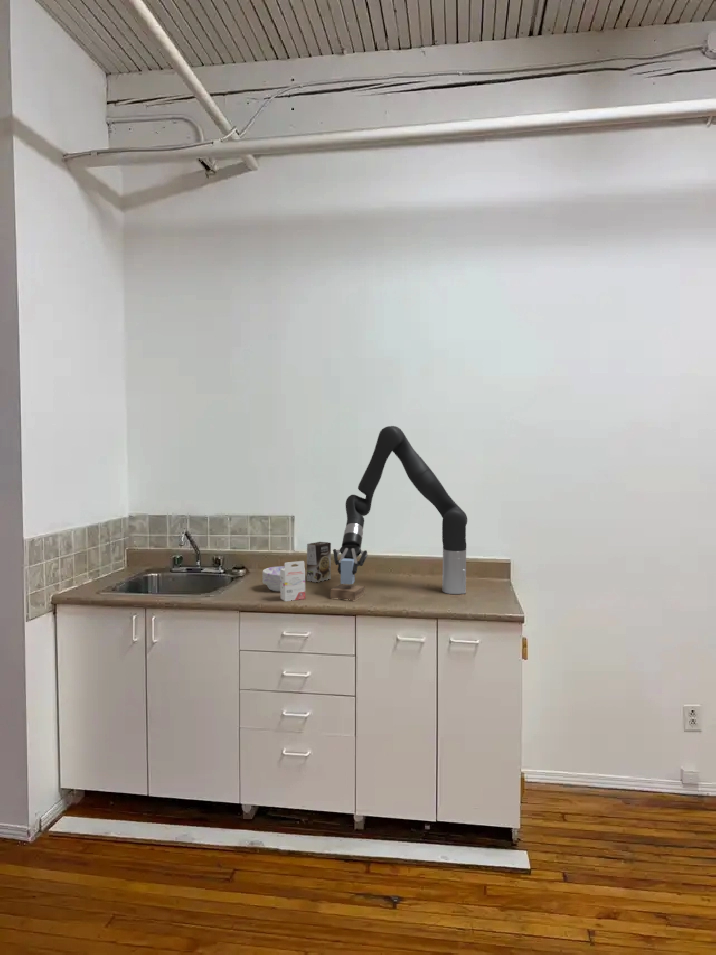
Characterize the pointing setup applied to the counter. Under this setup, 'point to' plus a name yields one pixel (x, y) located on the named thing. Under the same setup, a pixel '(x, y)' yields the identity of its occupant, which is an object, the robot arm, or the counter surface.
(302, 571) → the ink cartridge box
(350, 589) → the walnut block
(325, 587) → the counter surface
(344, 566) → the slate block
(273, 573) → the paper bowls
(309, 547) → the coffee box
